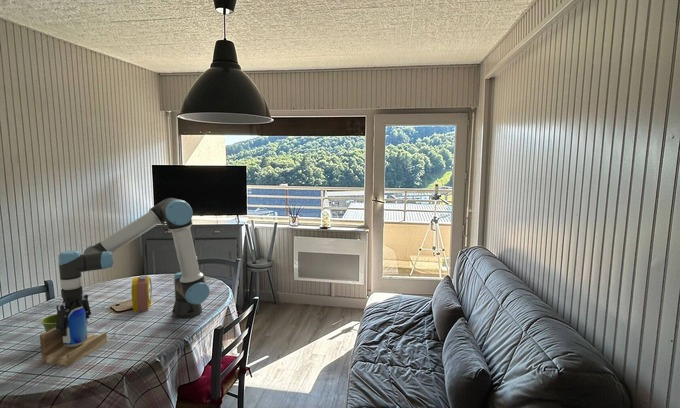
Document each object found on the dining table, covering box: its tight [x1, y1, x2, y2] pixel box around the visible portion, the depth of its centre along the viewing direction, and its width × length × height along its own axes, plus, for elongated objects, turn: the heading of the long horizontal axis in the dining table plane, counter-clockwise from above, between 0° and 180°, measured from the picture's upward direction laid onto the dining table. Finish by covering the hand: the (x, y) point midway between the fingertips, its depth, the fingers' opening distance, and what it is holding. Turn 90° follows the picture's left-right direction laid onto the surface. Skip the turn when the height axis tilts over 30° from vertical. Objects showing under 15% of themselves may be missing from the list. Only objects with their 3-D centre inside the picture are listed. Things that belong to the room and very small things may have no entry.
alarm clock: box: [131, 274, 153, 313], centre depth 214 cm, size 15×8×18 cm, turn 20°
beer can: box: [64, 306, 88, 347], centre depth 164 cm, size 8×8×16 cm
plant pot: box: [40, 313, 57, 332], centre depth 174 cm, size 12×12×11 cm
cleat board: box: [39, 327, 108, 366], centre depth 165 cm, size 13×20×12 cm, turn 171°
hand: (75, 337), depth 165 cm, fingers closed on beer can, 8 cm apart
